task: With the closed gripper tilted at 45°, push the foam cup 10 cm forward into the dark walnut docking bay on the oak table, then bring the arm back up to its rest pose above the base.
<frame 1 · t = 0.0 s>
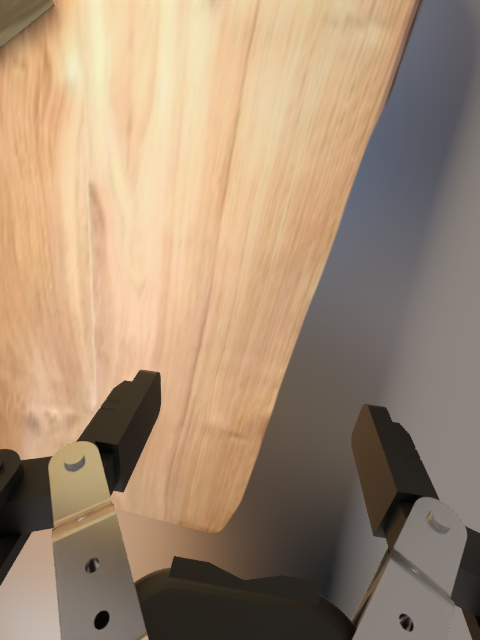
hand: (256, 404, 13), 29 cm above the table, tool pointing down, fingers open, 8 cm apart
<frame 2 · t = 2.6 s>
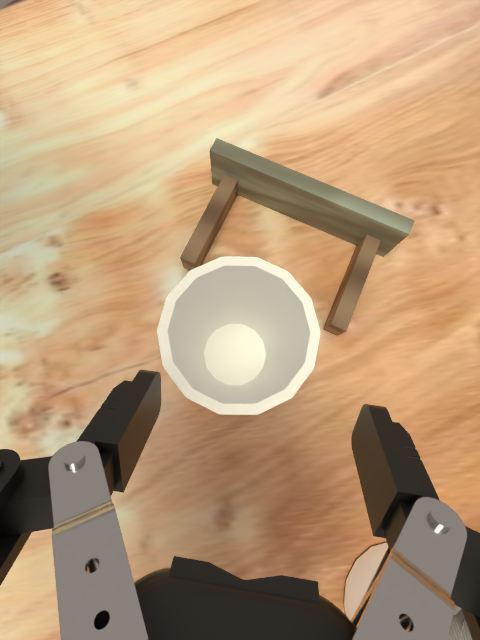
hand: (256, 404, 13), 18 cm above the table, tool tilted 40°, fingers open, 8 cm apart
foam cup: (234, 354, 31), on the table
dock: (274, 267, 33), on the table
inkwell: (437, 574, 28), on the table
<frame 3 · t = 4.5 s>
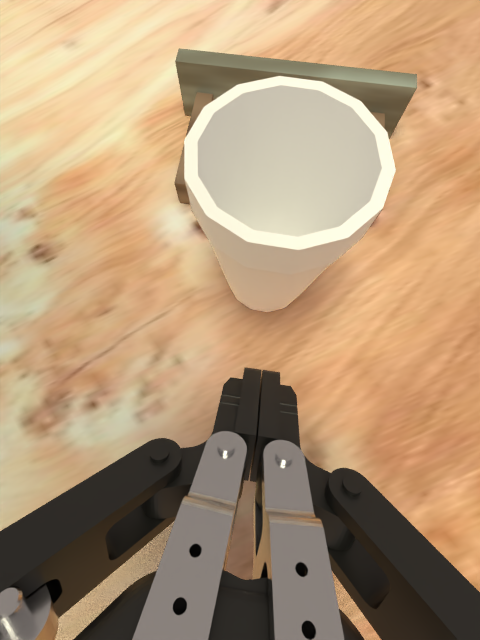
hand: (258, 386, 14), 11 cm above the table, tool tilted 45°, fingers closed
foam cup: (265, 277, 27), on the table
dock: (279, 177, 29), on the table
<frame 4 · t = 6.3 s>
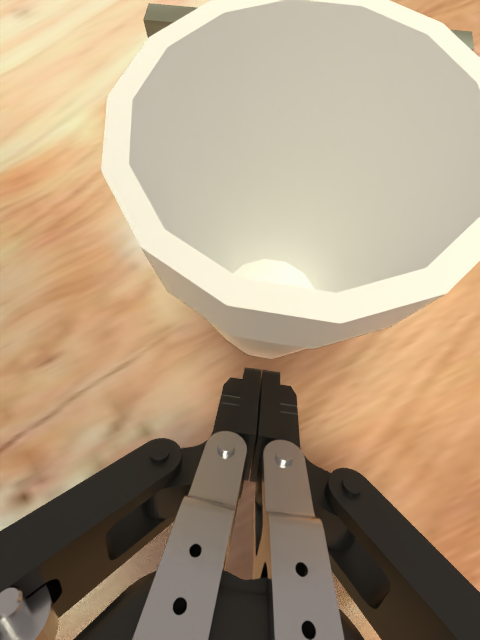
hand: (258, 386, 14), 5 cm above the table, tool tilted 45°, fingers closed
foam cup: (267, 308, 20), on the table, touching gripper
dock: (284, 174, 22), on the table
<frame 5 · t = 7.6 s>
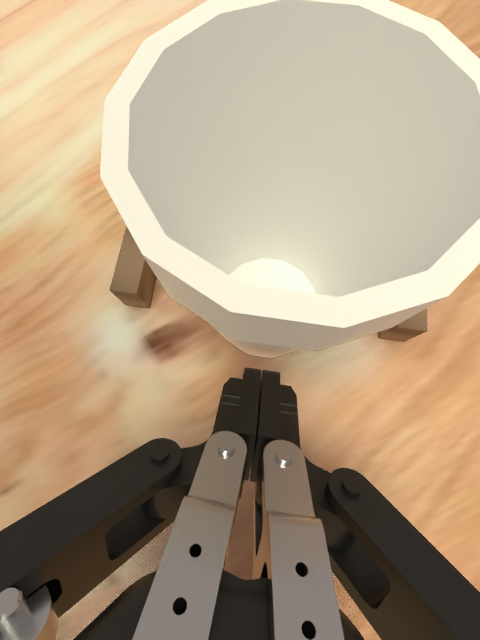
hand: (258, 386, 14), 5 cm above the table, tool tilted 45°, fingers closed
foam cup: (266, 308, 20), on the table, touching gripper
dock: (269, 263, 21), on the table
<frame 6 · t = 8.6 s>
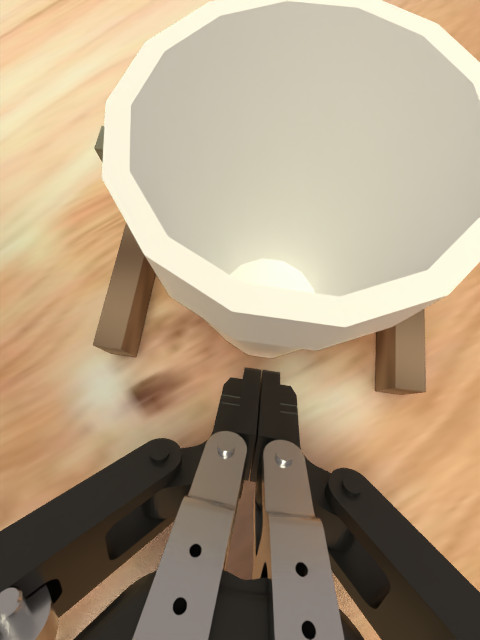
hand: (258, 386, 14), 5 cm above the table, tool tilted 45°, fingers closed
foam cup: (265, 308, 20), on the table, touching gripper
dock: (262, 309, 20), on the table
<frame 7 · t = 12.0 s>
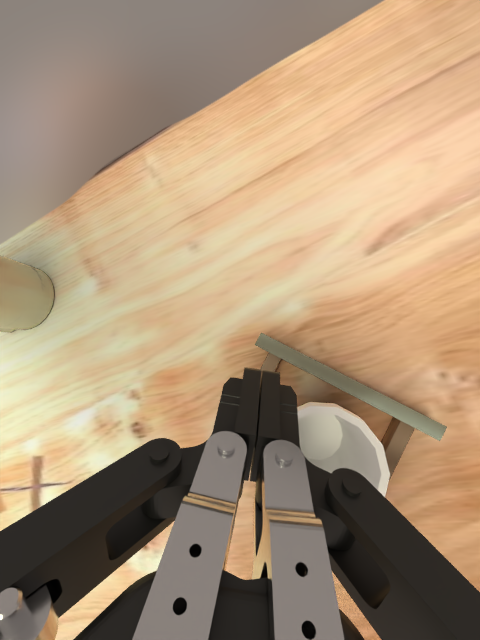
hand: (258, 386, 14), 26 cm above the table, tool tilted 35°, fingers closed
foam cup: (315, 431, 37), on the table
dock: (312, 432, 37), on the table
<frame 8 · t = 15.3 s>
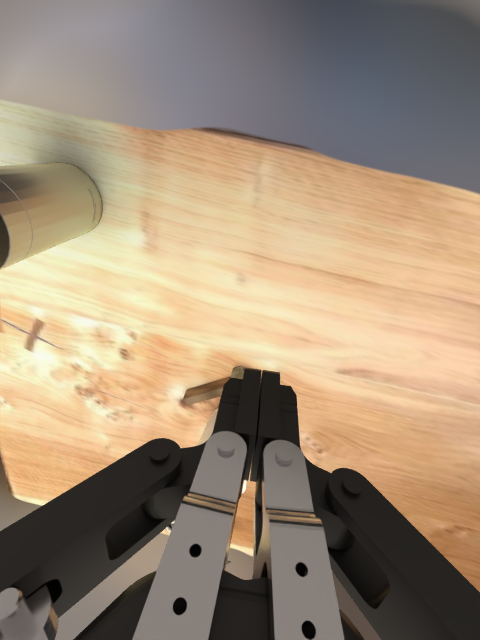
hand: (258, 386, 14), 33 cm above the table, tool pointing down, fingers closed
dock: (226, 418, 60), on the table
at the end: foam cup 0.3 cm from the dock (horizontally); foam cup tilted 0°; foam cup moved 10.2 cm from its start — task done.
